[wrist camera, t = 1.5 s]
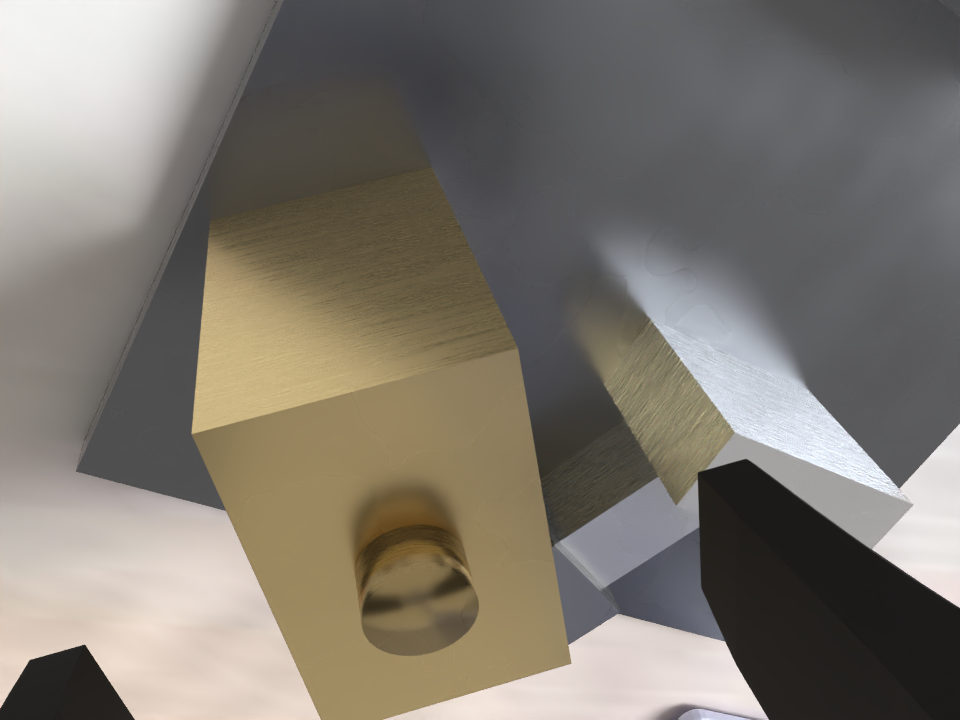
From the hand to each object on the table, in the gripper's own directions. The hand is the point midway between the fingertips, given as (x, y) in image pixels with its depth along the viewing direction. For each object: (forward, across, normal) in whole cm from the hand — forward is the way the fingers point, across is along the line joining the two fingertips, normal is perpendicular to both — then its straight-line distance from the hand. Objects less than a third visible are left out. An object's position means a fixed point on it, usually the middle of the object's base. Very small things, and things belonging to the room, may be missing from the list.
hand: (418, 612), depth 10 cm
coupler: (+6, 0, 0) cm, 6 cm away
